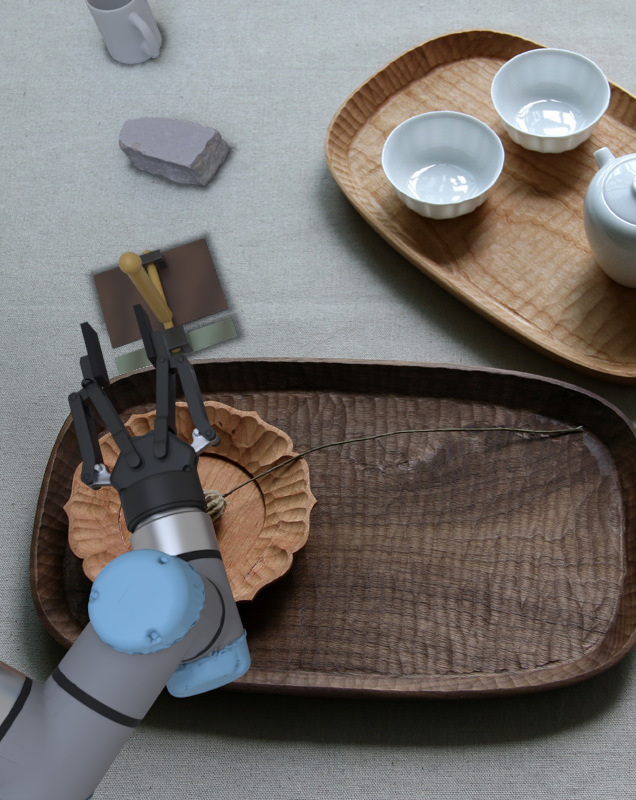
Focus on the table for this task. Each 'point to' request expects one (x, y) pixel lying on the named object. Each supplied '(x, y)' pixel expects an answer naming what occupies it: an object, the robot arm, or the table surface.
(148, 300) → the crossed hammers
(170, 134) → the decorative stone
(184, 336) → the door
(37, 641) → the table surface
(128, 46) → the mug
